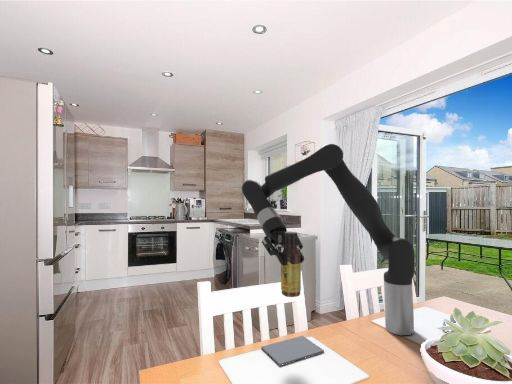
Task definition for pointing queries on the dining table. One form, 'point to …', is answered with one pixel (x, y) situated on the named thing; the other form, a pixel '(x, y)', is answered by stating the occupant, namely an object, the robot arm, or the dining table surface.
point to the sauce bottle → (291, 267)
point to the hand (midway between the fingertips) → (294, 262)
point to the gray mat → (292, 350)
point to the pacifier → (450, 320)
